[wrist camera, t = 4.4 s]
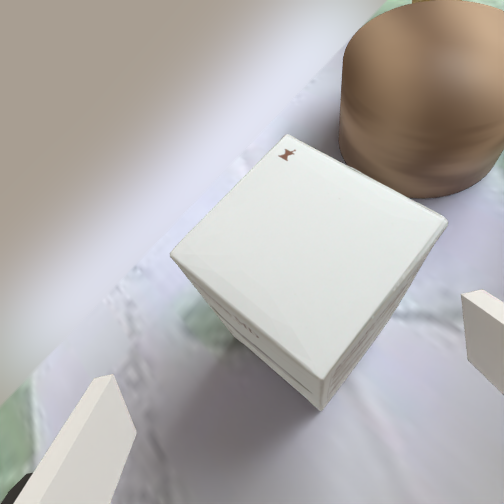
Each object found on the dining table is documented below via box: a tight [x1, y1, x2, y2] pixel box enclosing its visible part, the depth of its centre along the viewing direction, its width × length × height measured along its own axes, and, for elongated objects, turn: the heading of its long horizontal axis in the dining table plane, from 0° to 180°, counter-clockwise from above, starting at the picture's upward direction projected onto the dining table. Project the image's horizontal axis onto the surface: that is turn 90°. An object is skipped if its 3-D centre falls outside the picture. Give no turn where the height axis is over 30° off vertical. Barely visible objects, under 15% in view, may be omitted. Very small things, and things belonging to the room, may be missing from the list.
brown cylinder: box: [338, 0, 504, 199], centre depth 27 cm, size 12×12×7 cm
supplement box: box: [170, 134, 448, 411], centre depth 19 cm, size 7×7×13 cm
